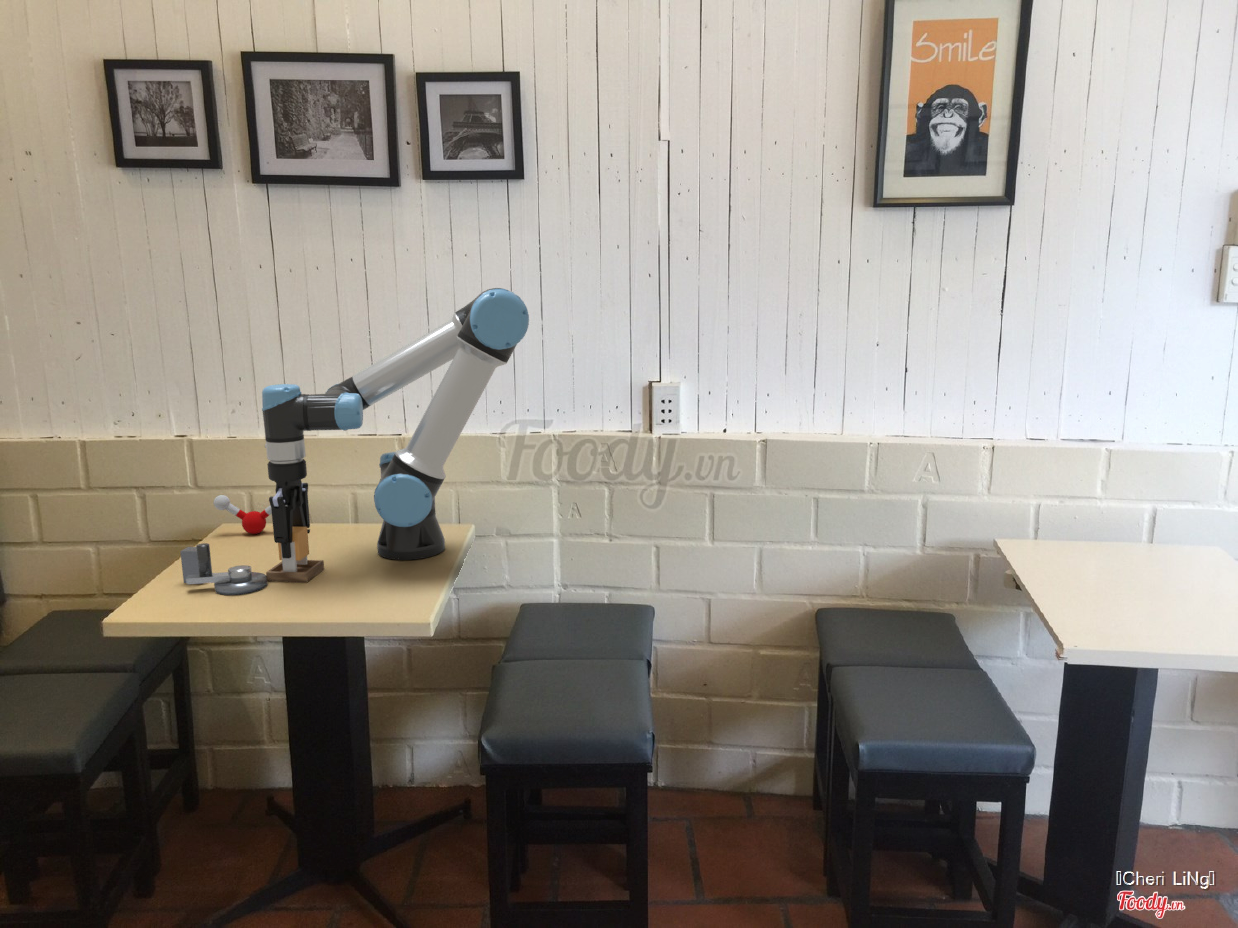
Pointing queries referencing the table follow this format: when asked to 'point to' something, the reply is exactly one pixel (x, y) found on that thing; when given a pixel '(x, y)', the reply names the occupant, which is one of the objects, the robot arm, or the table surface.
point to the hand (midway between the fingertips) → (295, 567)
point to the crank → (206, 576)
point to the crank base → (242, 585)
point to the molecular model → (244, 515)
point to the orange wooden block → (298, 543)
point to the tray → (301, 575)
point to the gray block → (189, 562)
